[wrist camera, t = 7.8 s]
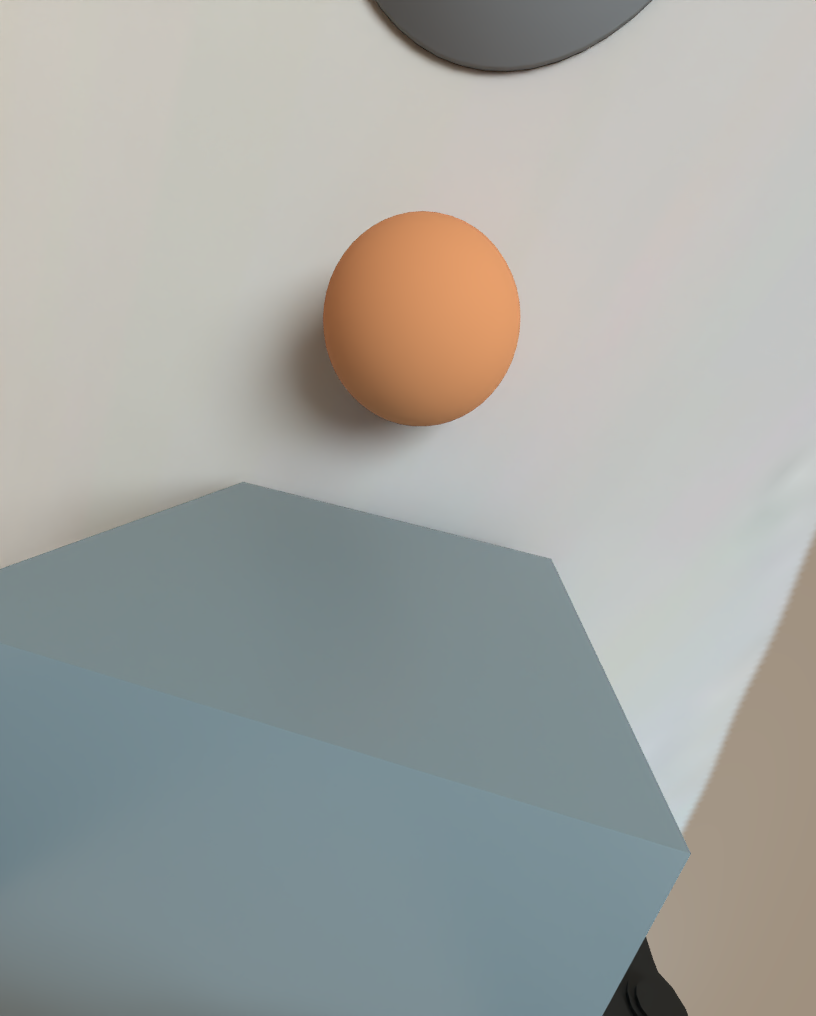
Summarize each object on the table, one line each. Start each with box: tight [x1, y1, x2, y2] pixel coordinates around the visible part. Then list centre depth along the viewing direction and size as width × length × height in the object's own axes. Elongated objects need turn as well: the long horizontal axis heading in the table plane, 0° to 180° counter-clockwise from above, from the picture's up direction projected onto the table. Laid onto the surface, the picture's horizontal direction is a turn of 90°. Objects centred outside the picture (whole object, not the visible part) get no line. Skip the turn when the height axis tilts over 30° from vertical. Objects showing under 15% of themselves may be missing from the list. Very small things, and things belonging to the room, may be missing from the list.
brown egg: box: [323, 211, 520, 426], centre depth 11 cm, size 5×5×5 cm
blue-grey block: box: [0, 482, 691, 1016], centre depth 11 cm, size 10×10×9 cm
